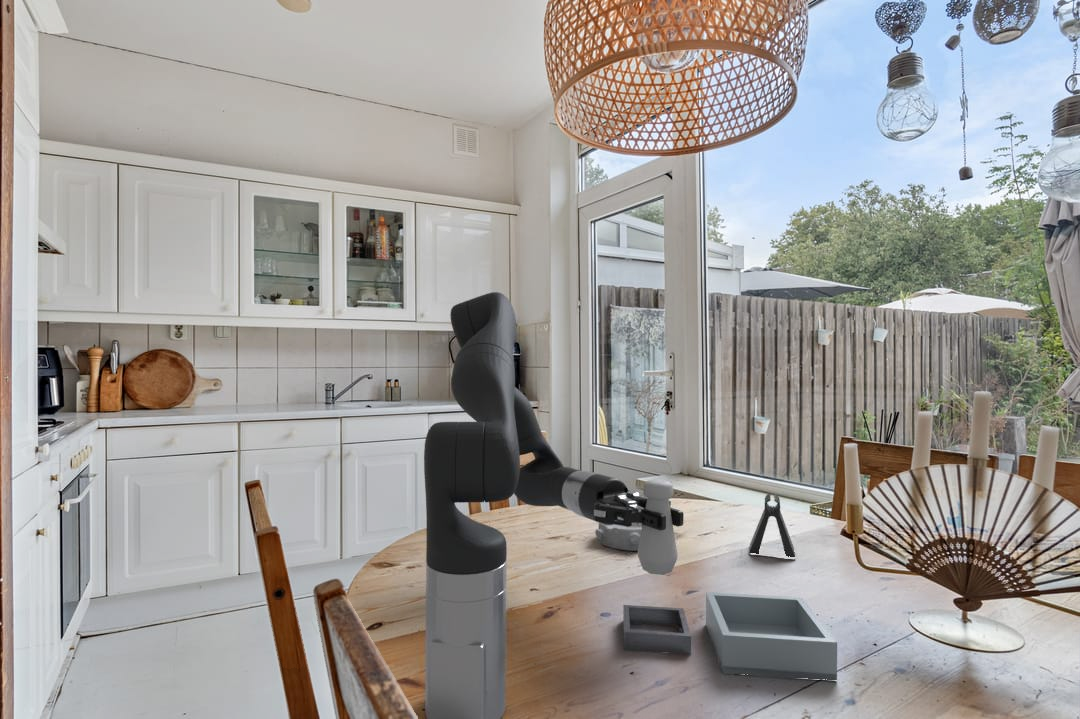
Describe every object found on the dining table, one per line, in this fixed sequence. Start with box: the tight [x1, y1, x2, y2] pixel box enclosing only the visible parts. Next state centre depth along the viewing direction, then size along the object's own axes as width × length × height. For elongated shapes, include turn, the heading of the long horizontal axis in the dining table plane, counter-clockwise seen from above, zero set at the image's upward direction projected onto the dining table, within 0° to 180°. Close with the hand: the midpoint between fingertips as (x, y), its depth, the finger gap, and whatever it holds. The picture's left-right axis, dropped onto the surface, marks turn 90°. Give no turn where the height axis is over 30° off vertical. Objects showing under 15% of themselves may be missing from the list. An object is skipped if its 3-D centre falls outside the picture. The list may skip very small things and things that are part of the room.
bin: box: [705, 591, 838, 681], centre depth 81 cm, size 14×14×5 cm
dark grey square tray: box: [622, 604, 692, 655], centre depth 85 cm, size 9×9×2 cm
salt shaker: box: [636, 479, 679, 576], centre depth 85 cm, size 6×6×13 cm
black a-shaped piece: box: [748, 492, 796, 557], centre depth 123 cm, size 9×6×12 cm, turn 68°
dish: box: [595, 522, 642, 552], centre depth 129 cm, size 14×14×5 cm
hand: (672, 521), depth 83 cm, fingers closed on salt shaker, 3 cm apart
